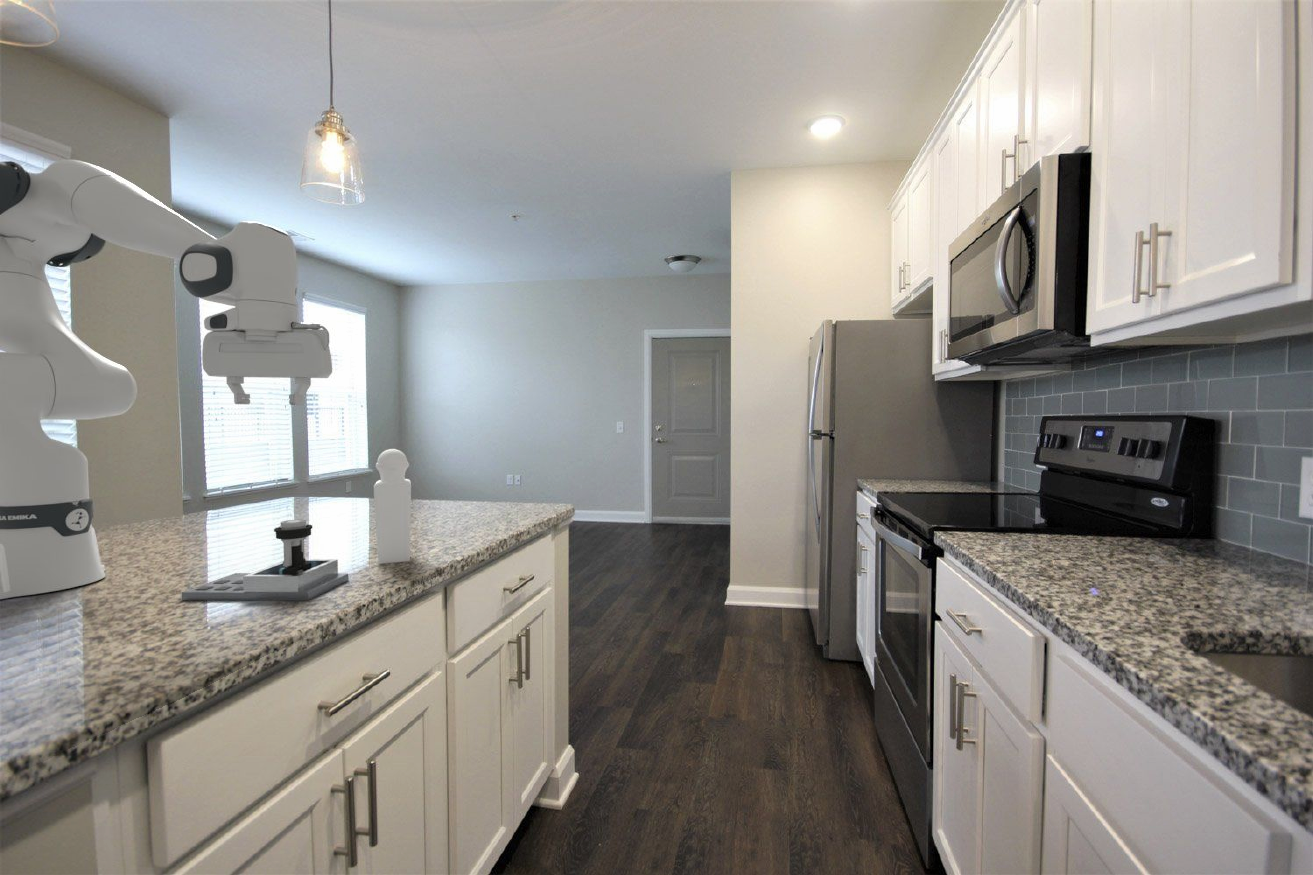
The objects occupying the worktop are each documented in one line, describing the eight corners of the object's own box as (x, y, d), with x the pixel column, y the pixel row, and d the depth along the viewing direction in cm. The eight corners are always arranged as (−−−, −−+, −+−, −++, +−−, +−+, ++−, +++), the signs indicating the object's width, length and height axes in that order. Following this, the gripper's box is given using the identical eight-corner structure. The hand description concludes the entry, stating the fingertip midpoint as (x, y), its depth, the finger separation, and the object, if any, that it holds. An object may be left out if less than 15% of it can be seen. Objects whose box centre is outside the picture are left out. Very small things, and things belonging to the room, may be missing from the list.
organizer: (181, 599, 90) (181, 576, 89) (235, 579, 101) (234, 558, 100) (308, 600, 89) (307, 576, 89) (348, 580, 100) (347, 559, 100)
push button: (292, 589, 91) (290, 526, 90) (260, 588, 91) (259, 525, 91) (321, 577, 97) (319, 518, 97) (292, 576, 98) (290, 518, 98)
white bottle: (412, 561, 113) (410, 449, 112) (375, 565, 110) (372, 450, 109) (412, 554, 119) (410, 447, 118) (377, 557, 116) (374, 448, 115)
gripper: (339, 325, 100) (340, 405, 101) (223, 324, 100) (225, 404, 101) (316, 320, 94) (318, 405, 94) (193, 318, 94) (196, 403, 95)
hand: (269, 404), depth 98 cm, fingers open, 8 cm apart
